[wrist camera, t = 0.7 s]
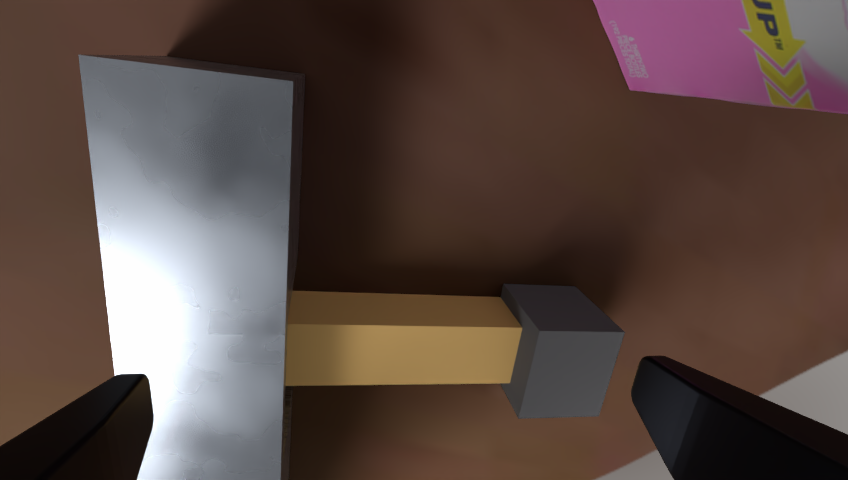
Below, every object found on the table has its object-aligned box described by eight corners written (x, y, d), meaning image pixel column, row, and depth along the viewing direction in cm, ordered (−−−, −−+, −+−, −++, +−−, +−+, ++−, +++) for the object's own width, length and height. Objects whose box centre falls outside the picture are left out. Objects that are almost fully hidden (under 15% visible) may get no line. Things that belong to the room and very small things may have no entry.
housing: (288, 494, 26) (275, 626, 20) (190, 500, 25) (145, 642, 19) (305, 74, 18) (293, 81, 12) (165, 55, 17) (78, 54, 11)
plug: (555, 359, 26) (598, 416, 22) (250, 359, 22) (232, 426, 18) (574, 286, 24) (624, 332, 20) (251, 273, 21) (231, 326, 17)
